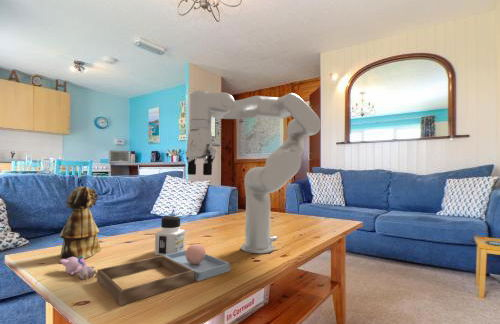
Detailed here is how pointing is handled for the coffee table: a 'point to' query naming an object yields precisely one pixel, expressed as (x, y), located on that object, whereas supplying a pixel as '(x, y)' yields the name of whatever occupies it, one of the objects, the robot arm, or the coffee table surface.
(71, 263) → the pink plastic figure
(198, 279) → the tray
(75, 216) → the plaid cloth bag
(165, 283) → the wooden box frame
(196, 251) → the ball
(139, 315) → the coffee table surface
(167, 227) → the container
